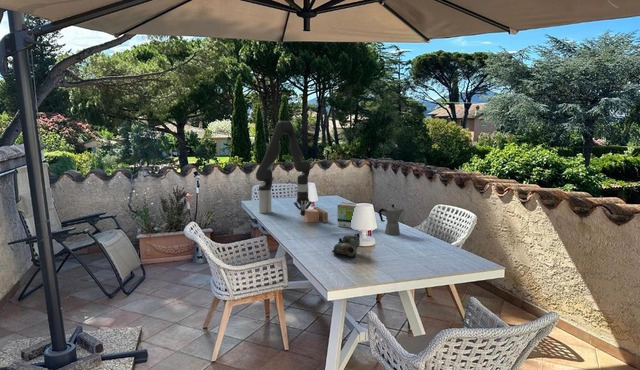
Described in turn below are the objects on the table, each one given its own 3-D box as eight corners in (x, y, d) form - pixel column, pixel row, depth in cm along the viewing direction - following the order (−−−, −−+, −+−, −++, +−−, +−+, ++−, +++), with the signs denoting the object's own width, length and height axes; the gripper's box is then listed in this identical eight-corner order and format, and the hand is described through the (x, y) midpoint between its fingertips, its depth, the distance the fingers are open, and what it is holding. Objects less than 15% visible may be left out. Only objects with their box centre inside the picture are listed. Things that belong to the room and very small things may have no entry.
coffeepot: (401, 231, 266) (402, 202, 264) (404, 235, 257) (405, 205, 254) (376, 231, 266) (377, 203, 263) (379, 235, 256) (379, 206, 254)
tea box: (337, 226, 278) (337, 204, 276) (342, 223, 288) (342, 201, 285) (359, 228, 273) (359, 206, 271) (363, 225, 282) (363, 203, 280)
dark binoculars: (329, 252, 224) (338, 227, 227) (350, 260, 226) (359, 235, 228) (335, 252, 210) (344, 225, 213) (357, 261, 211) (366, 234, 214)
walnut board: (313, 216, 307) (313, 207, 306) (317, 216, 308) (317, 207, 307) (323, 223, 289) (323, 212, 288) (327, 222, 290) (327, 212, 289)
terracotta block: (304, 219, 298) (304, 209, 297) (315, 218, 301) (315, 209, 300) (307, 222, 291) (307, 212, 290) (319, 221, 294) (319, 211, 293)
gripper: (310, 189, 296) (310, 213, 299) (291, 190, 292) (292, 215, 294) (313, 190, 290) (313, 215, 292) (295, 191, 285) (295, 217, 287)
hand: (302, 215), depth 293 cm, fingers closed
